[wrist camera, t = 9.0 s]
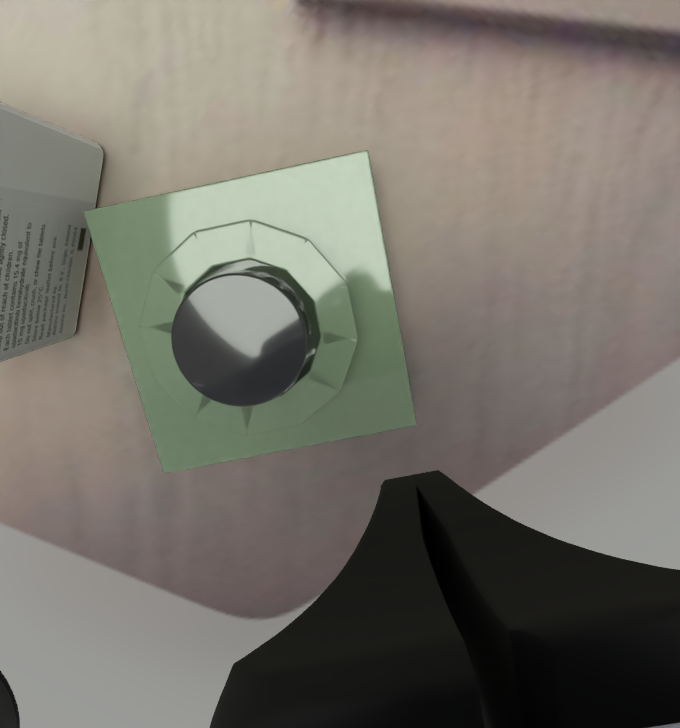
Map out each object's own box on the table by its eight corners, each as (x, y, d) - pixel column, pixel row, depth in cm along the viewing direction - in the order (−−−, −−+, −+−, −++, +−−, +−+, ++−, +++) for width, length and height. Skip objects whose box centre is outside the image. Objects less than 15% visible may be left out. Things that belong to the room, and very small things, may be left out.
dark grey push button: (322, 376, 17) (319, 393, 15) (207, 399, 17) (190, 419, 15) (296, 258, 16) (290, 260, 14) (176, 283, 16) (153, 288, 14)
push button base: (408, 405, 22) (425, 446, 17) (182, 448, 22) (143, 499, 18) (364, 161, 19) (371, 137, 15) (114, 215, 20) (49, 206, 15)
